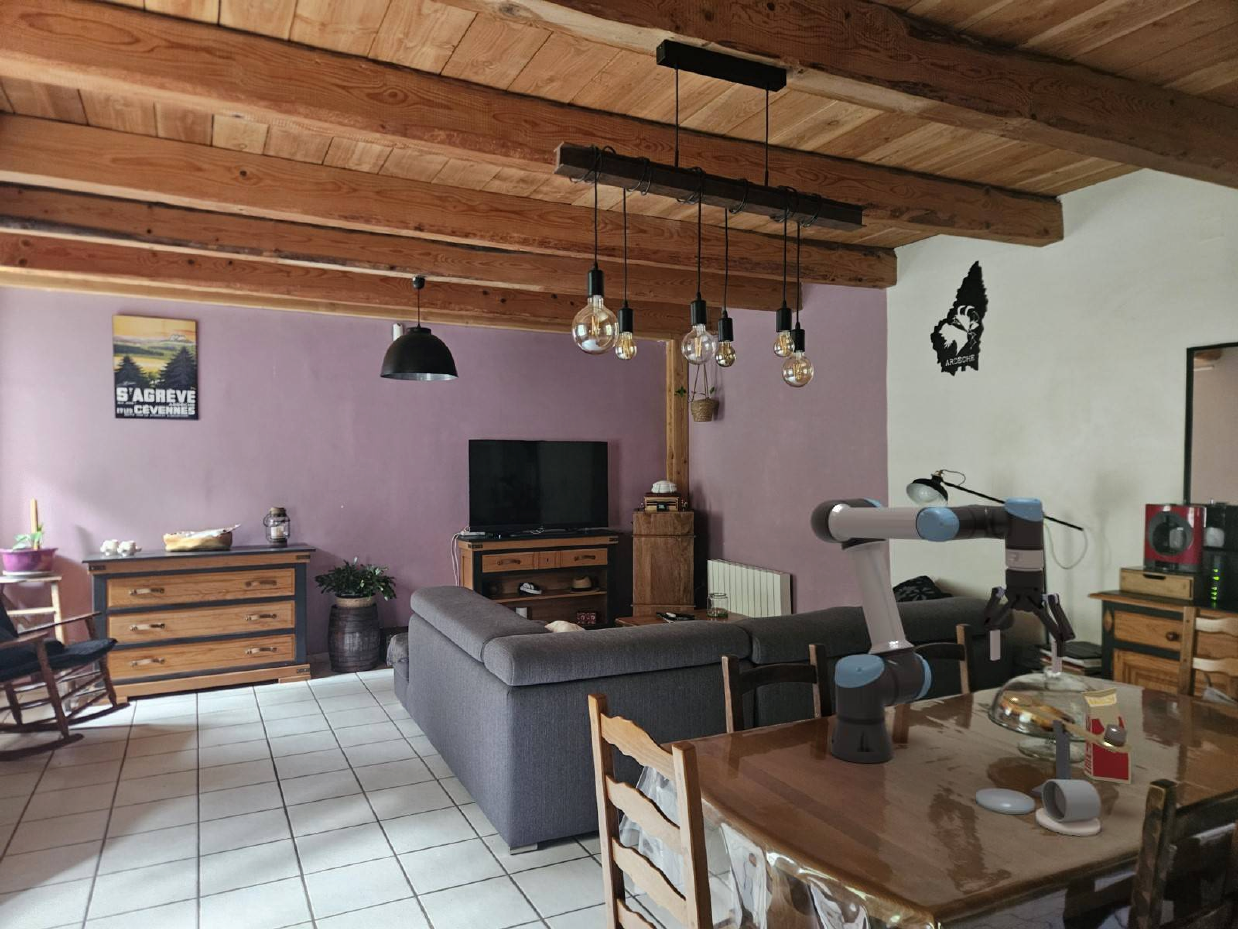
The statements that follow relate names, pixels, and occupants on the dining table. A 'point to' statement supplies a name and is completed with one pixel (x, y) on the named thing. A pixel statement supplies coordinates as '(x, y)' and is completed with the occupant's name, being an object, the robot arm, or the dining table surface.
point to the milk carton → (1097, 718)
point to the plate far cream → (1068, 825)
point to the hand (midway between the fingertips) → (1025, 665)
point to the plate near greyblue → (1005, 801)
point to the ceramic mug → (1071, 800)
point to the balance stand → (1060, 753)
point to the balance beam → (1109, 740)
